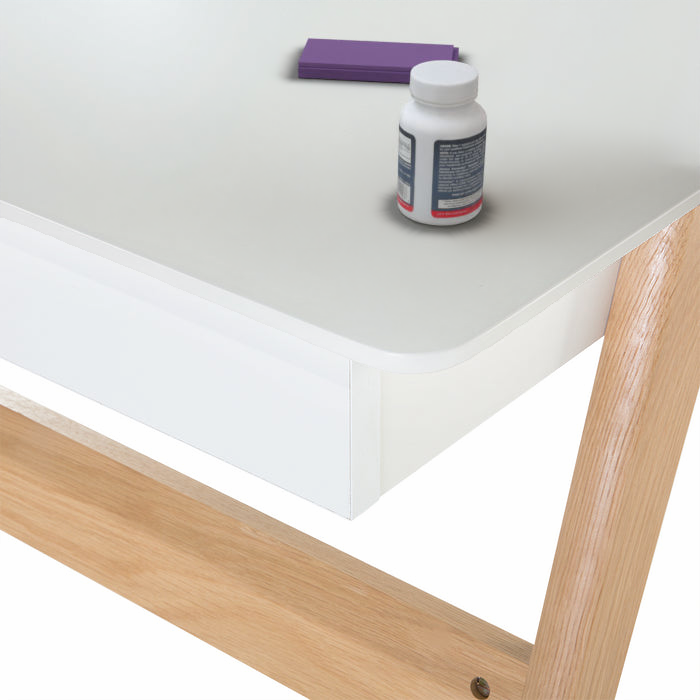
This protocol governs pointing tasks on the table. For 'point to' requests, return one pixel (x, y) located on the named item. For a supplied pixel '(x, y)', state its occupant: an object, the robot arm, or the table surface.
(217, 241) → the table surface
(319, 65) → the purple box
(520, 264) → the table surface
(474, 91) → the pill bottle
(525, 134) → the table surface
